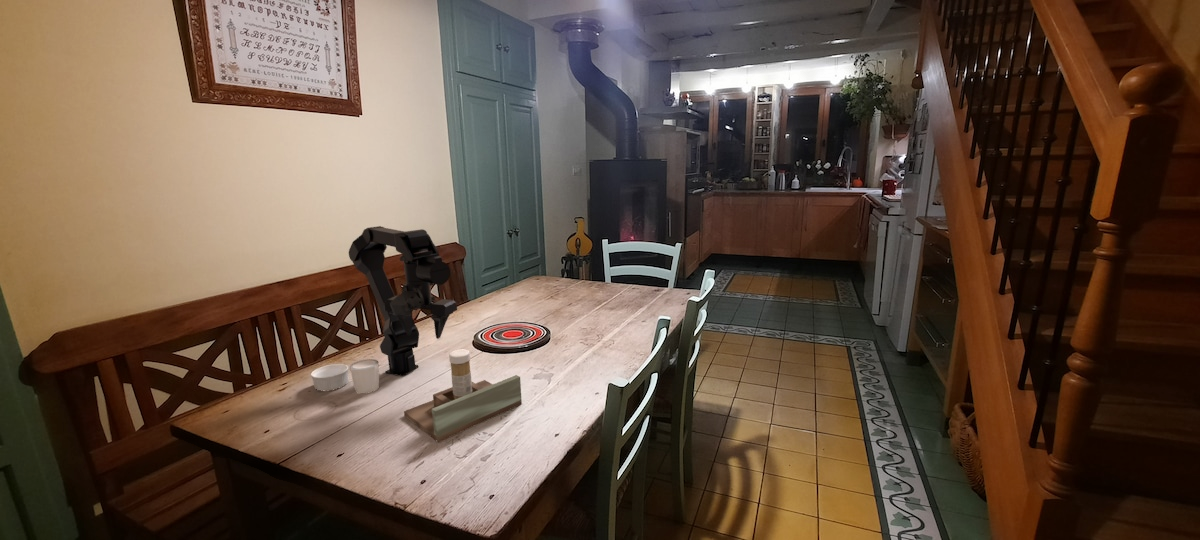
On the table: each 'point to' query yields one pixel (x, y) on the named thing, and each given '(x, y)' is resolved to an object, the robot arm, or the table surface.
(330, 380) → the ramekin
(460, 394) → the sprinkles bottle
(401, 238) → the robot arm
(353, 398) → the table surface
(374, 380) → the shot glass
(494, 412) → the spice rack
